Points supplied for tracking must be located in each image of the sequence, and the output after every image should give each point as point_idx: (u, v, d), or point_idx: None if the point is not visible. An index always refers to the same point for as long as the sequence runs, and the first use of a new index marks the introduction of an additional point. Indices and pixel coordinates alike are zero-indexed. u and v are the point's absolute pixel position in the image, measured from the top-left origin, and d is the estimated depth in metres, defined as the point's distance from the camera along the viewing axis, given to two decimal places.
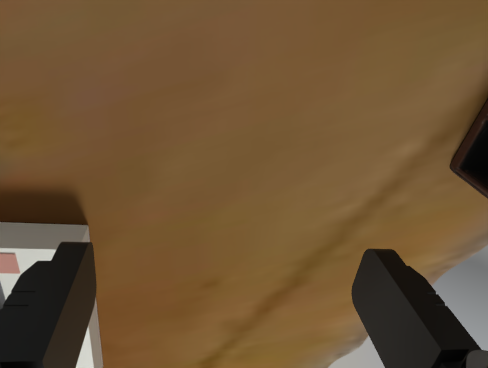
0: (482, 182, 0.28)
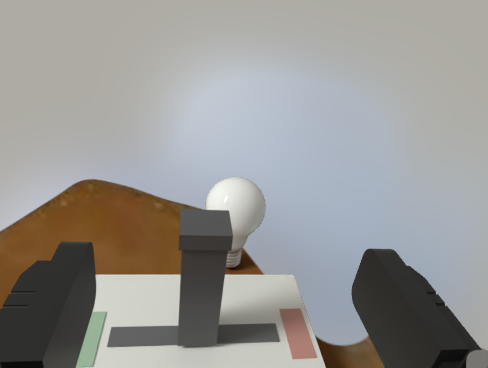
0: None
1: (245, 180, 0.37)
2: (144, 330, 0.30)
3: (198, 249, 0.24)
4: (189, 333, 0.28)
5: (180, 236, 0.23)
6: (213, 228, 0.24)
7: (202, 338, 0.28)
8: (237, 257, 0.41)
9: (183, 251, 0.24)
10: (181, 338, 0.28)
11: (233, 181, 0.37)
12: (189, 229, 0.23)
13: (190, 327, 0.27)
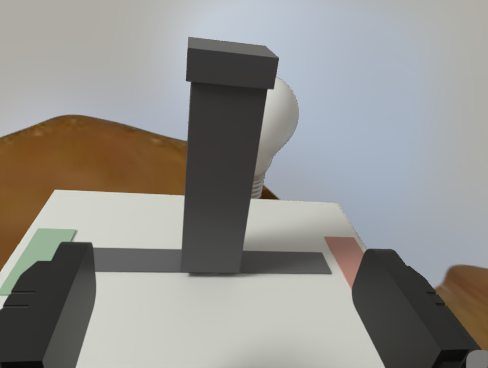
0: None
1: None
2: (131, 253, 0.20)
3: (219, 83, 0.14)
4: (198, 249, 0.18)
5: (189, 50, 0.13)
6: (244, 50, 0.14)
7: (219, 260, 0.18)
8: (258, 186, 0.31)
9: (193, 87, 0.14)
10: (186, 258, 0.18)
11: None
12: (204, 47, 0.14)
13: (201, 239, 0.18)
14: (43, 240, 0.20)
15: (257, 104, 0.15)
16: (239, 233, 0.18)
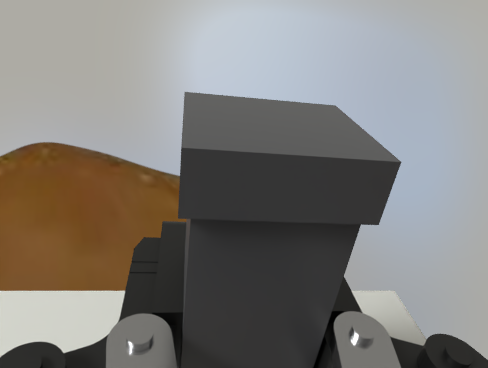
0: None
1: None
2: None
3: (256, 218, 0.06)
4: None
5: (185, 154, 0.05)
6: (312, 137, 0.06)
7: None
8: None
9: (196, 225, 0.06)
10: None
11: None
12: (221, 135, 0.06)
13: None
14: None
15: (336, 249, 0.07)
16: None
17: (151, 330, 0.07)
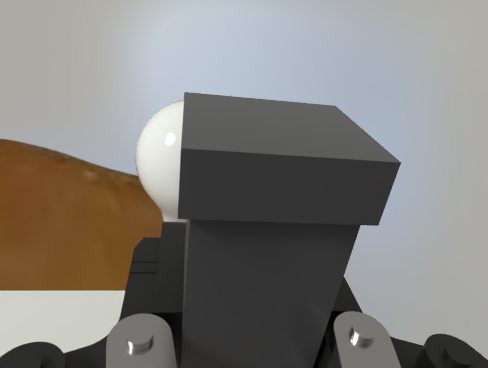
0: None
1: None
2: None
3: (256, 218, 0.06)
4: None
5: (185, 155, 0.05)
6: (312, 138, 0.06)
7: None
8: None
9: (195, 226, 0.06)
10: None
11: None
12: (221, 135, 0.06)
13: None
14: None
15: (335, 249, 0.07)
16: None
17: (151, 330, 0.07)
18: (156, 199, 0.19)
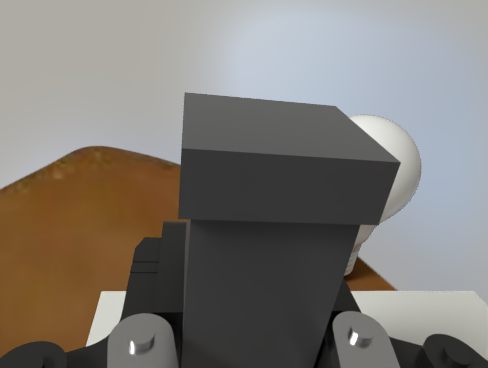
0: None
1: None
2: None
3: (256, 219, 0.06)
4: None
5: (186, 155, 0.05)
6: (312, 138, 0.06)
7: None
8: (353, 259, 0.24)
9: (196, 226, 0.06)
10: None
11: (368, 119, 0.20)
12: (221, 135, 0.06)
13: None
14: None
15: (336, 249, 0.07)
16: None
17: (152, 330, 0.07)
18: None
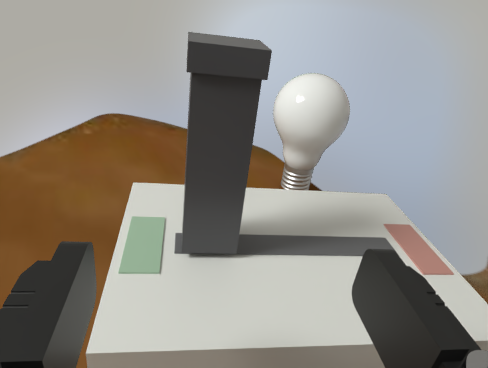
0: None
1: None
2: None
3: (217, 73, 0.15)
4: (198, 231, 0.19)
5: (189, 44, 0.14)
6: (240, 44, 0.15)
7: (217, 241, 0.20)
8: (308, 180, 0.33)
9: (193, 78, 0.15)
10: (187, 239, 0.19)
11: (312, 74, 0.29)
12: (203, 40, 0.15)
13: (201, 220, 0.19)
14: (140, 227, 0.22)
15: (252, 93, 0.16)
16: (236, 215, 0.19)
17: None
18: (291, 135, 0.30)
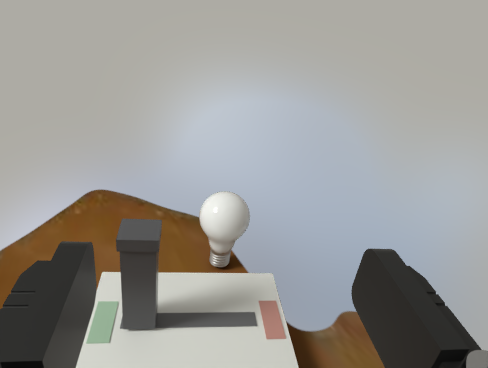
0: None
1: (232, 194, 0.45)
2: None
3: (132, 251, 0.30)
4: (131, 318, 0.34)
5: (117, 240, 0.30)
6: (144, 234, 0.31)
7: (143, 323, 0.35)
8: (226, 258, 0.48)
9: (121, 252, 0.30)
10: (125, 322, 0.34)
11: (222, 195, 0.44)
12: (125, 235, 0.30)
13: (132, 313, 0.34)
14: (102, 309, 0.37)
15: (152, 256, 0.31)
16: (152, 310, 0.34)
17: None
18: (209, 235, 0.45)
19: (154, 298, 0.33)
